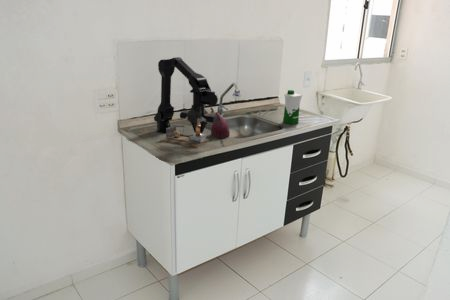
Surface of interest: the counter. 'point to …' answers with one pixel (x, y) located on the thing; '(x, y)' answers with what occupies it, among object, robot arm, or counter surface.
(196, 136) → the ram
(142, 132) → the counter surface
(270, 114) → the counter surface
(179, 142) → the press bench
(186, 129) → the counter surface
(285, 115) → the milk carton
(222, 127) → the vegetable
